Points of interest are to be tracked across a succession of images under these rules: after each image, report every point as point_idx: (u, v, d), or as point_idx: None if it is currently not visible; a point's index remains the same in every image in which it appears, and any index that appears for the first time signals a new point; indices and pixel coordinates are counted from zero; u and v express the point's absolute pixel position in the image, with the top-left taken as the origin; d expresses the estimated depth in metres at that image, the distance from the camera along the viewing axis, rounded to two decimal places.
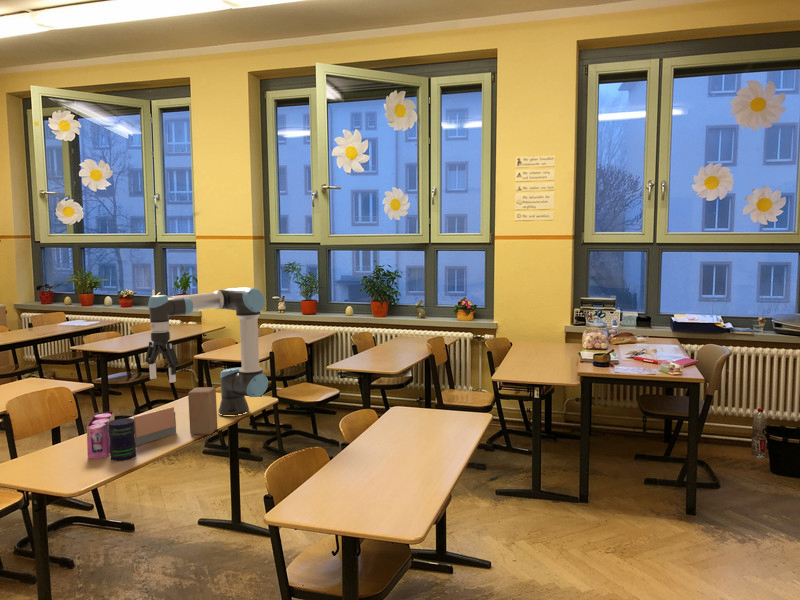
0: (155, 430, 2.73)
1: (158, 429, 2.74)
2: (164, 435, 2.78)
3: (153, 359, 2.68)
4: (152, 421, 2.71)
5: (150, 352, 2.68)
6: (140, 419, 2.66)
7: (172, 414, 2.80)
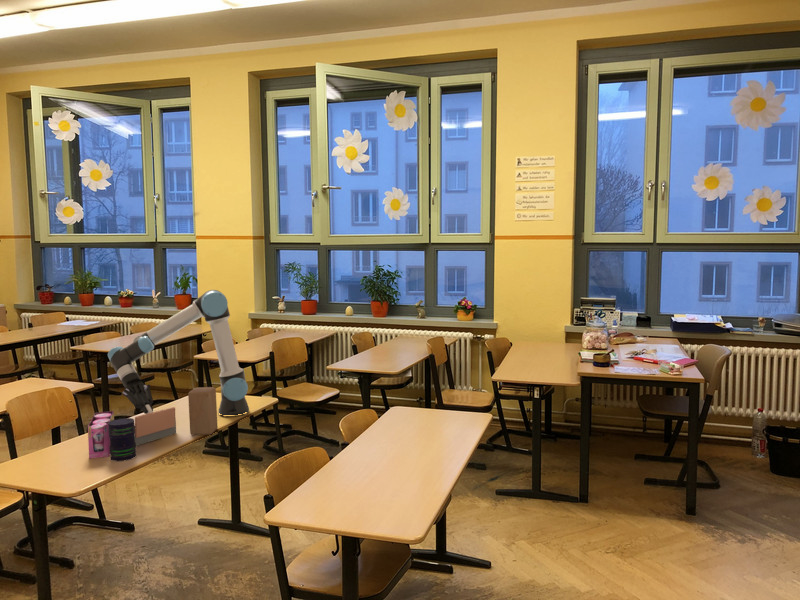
0: (155, 430, 2.73)
1: (158, 429, 2.74)
2: (164, 435, 2.78)
3: (144, 400, 2.77)
4: (153, 422, 2.71)
5: (146, 395, 2.80)
6: (141, 420, 2.66)
7: (173, 415, 2.79)
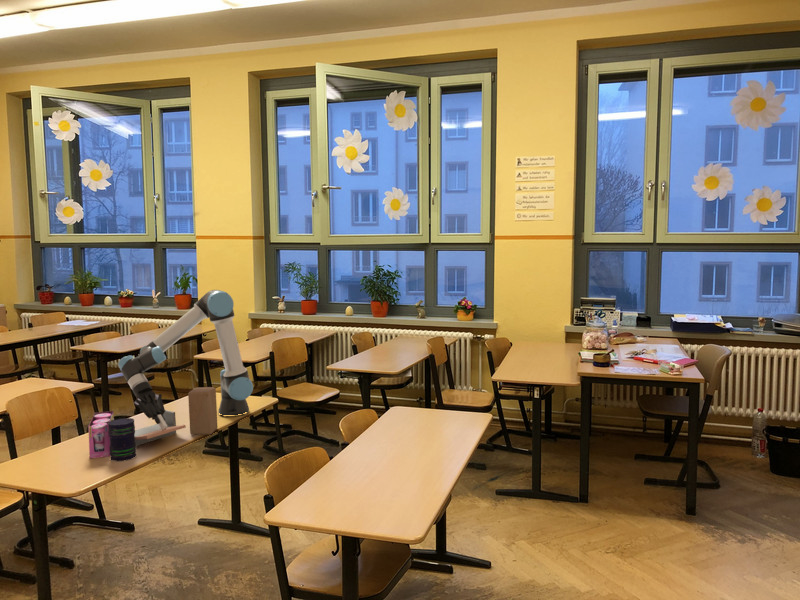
0: None
1: None
2: (164, 435, 2.78)
3: (156, 410, 2.73)
4: None
5: (158, 404, 2.76)
6: (150, 437, 2.64)
7: None
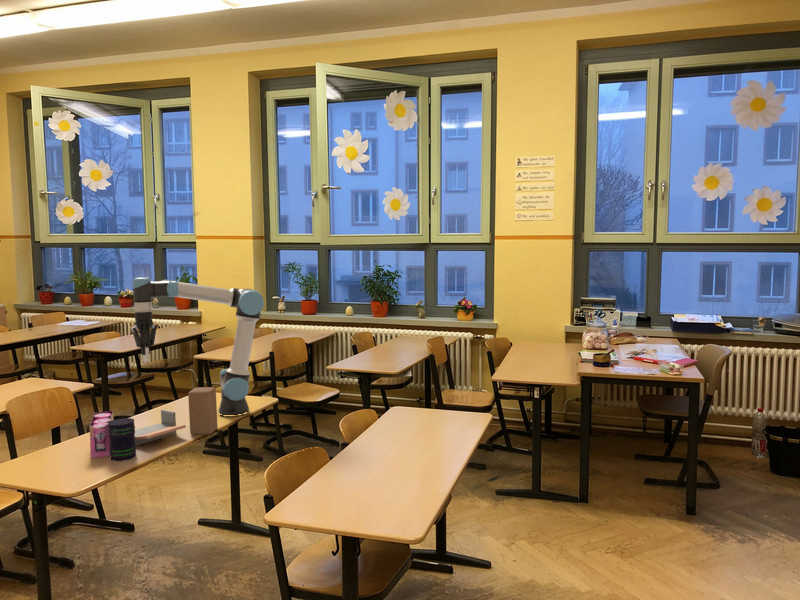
0: None
1: None
2: (164, 435, 2.78)
3: (146, 340, 2.87)
4: None
5: (150, 334, 2.89)
6: (150, 437, 2.64)
7: None
